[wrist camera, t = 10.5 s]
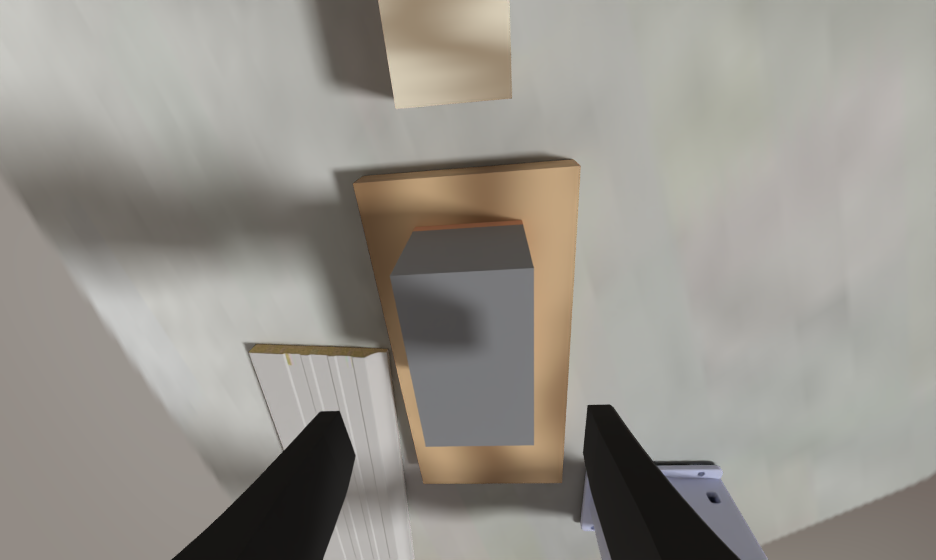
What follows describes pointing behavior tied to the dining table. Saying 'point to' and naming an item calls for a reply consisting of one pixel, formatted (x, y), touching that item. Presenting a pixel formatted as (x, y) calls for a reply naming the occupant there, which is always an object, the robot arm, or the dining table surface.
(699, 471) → the robot arm
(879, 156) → the dining table surface
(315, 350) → the baseboard
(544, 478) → the board
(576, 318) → the dining table surface
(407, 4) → the beige cube
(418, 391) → the block
